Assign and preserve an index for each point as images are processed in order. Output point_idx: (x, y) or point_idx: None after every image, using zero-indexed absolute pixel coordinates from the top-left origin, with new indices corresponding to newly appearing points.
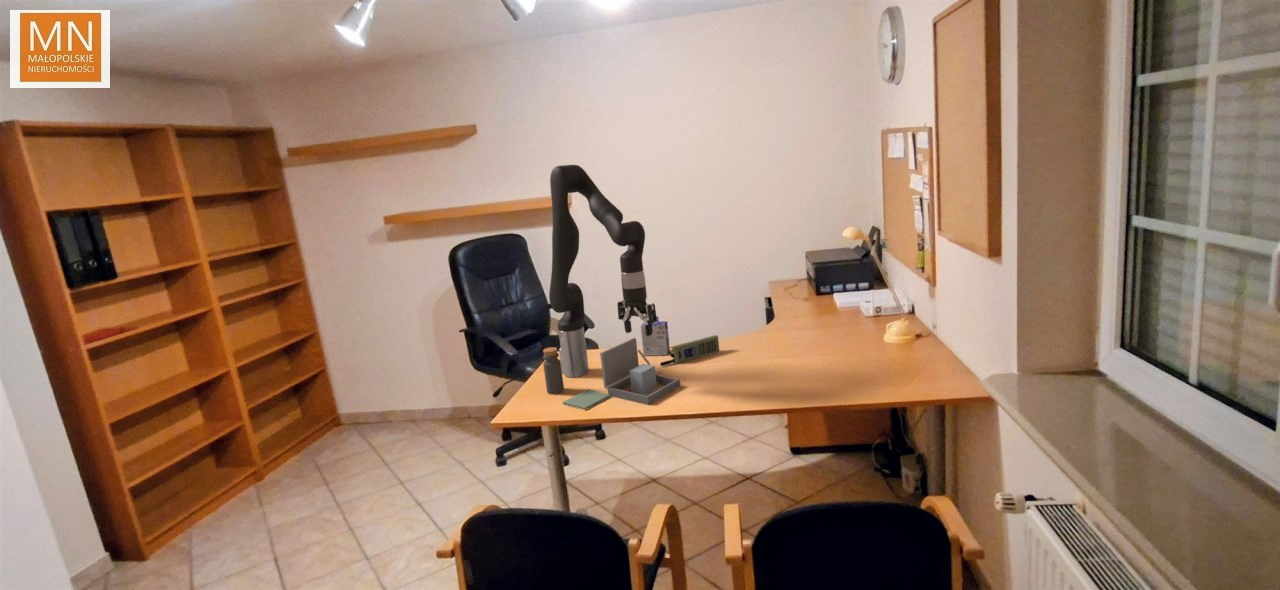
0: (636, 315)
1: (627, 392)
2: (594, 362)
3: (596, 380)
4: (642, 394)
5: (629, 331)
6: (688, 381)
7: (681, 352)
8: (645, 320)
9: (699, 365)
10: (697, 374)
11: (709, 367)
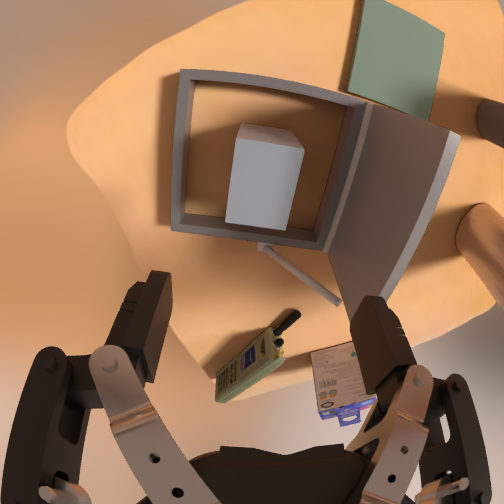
0: (255, 462)
1: (276, 80)
2: (450, 287)
3: None
4: (245, 123)
5: (359, 313)
6: (177, 252)
7: (260, 353)
8: (109, 391)
9: (213, 329)
10: (185, 291)
11: (186, 324)
